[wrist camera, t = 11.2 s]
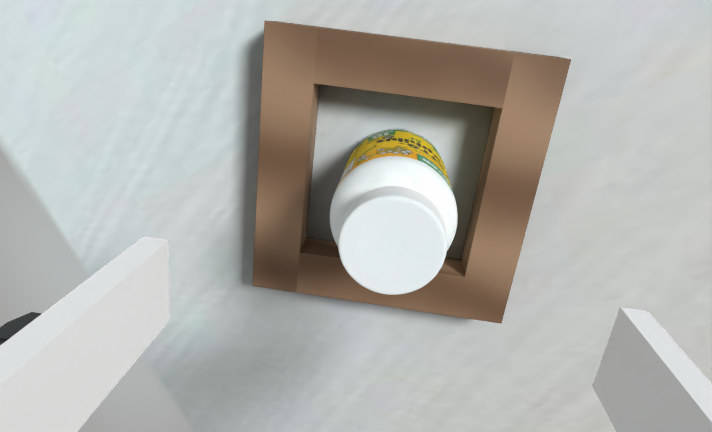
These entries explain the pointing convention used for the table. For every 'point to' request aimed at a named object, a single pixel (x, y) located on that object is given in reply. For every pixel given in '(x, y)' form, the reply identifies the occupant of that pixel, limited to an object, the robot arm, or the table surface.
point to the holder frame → (411, 78)
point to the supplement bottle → (394, 212)
